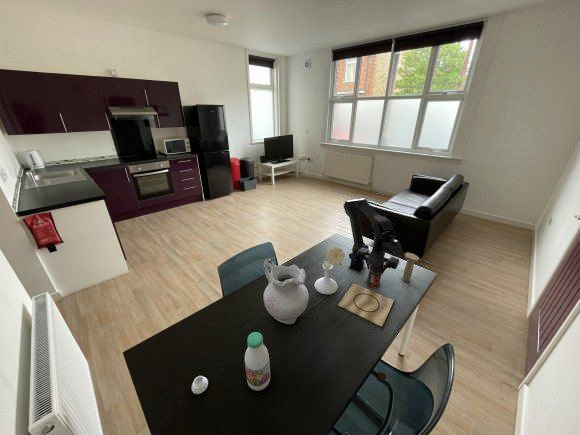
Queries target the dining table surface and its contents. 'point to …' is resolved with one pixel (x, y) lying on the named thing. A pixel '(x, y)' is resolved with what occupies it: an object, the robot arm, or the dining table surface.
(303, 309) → the ceramic pitcher
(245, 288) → the dining table surface
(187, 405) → the dining table surface
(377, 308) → the circle mat
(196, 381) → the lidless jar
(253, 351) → the milk bottle
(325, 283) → the flower in vase
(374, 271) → the deodorant
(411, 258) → the handle
